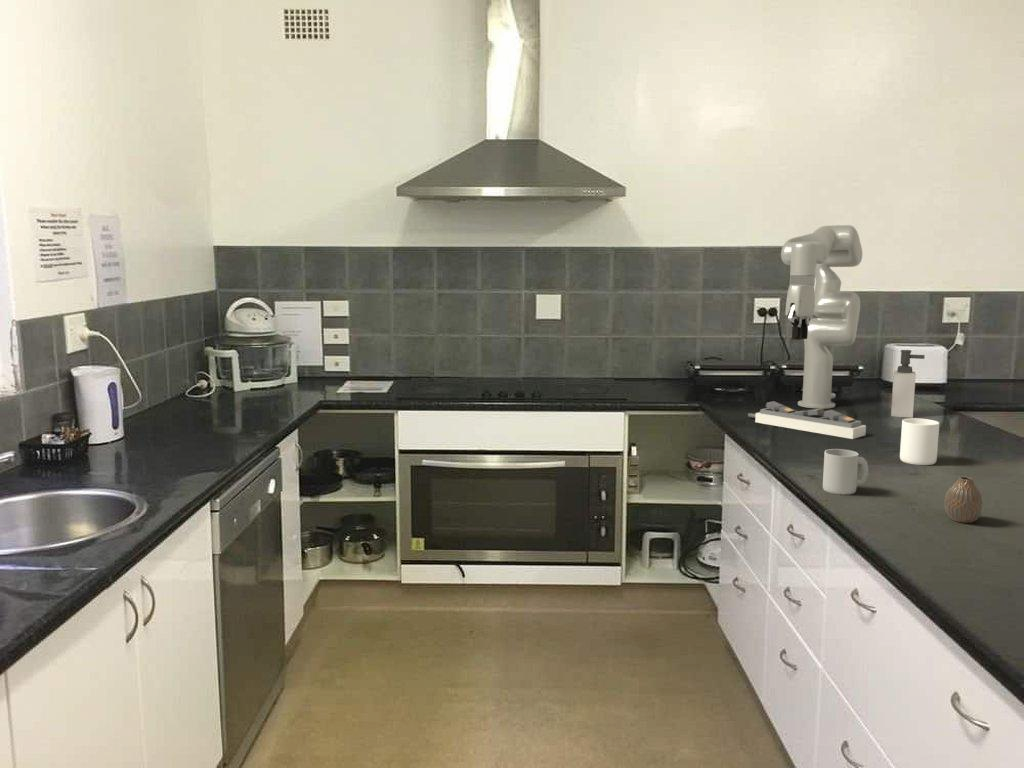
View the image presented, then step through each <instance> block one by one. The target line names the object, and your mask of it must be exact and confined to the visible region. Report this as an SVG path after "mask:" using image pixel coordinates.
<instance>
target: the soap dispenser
mask: <svg viewBox="0 0 1024 768" xmlns="http://www.w3.org/2000/svg"><path fill="white" fill-rule="evenodd" d="M911 353H912V350H911V349H900V365H898V366H897V370H893V378H892V391H891V408H890V409H891V410H890V417H898V418H899V417H900V418H914V403H915V389H916V377H917V374H916V371H913V366H909V365H910V364H911V359H917V360H925V357H926V356H925V354H911Z"/></svg>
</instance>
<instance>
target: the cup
mask: <svg viewBox="0 0 1024 768" xmlns="http://www.w3.org/2000/svg"><path fill="white" fill-rule="evenodd" d="M823 456H824V457H823V474H822V475H823V477H822V489H823V491H825V492H827V493H830V494H834V495H840V494H841V496H843V495H844V496H848V495H853V494H855V493H856V492H857V486H860V485H863V483H865V482H866V480H867V479H868V476H869V464H868V462H867V460H866V459H865V458H864V457H862V456H859V453H858V452H857V451H854V450H851V449H842V448H831V449H825V450H824V454H823ZM859 465H860V475H859V476H858V468H859Z"/></svg>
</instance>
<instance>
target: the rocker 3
mask: <svg viewBox="0 0 1024 768" xmlns="http://www.w3.org/2000/svg"><path fill="white" fill-rule="evenodd" d="M822 415H823V416H826V417H828V418H831V419H833V420H834V421H839V422H846V423H851V422H855V420H856V419H855V418H853V417H851V416H848V415H846V414H845V413H841V412H838V411H836V410H834V409H828V410H824V413H823V414H822Z"/></svg>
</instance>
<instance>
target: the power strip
mask: <svg viewBox="0 0 1024 768" xmlns="http://www.w3.org/2000/svg"><path fill="white" fill-rule="evenodd" d="M795 412H799V411H798V410H795ZM795 412H793V413H782V412H776V411H775V410H772V409H770V408H768V407H765V408H761V409H760V410H759V412H755V413H751V412H749V413H747V417H749V418H753V419H755V420H754V422H755V423H759V424H763V425H769V426H776V427H781V428H787V429H792V430H798V431H805V432H810V433H816V434H821V435H826V436H832V437H833V436H834V437H839V438H844V439H848V440H849V439H850V440H855V439H858V438H861V437H865V436H866V431H867V426H866V425H865V424H862V420H858V419H857V420H856V419H855V422H851V423H846V422H839V421H834V420H833V419H831V418H828V417H826V416H823V415H824V414H818V415H810V416H801V415H795V414H794V413H795Z"/></svg>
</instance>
